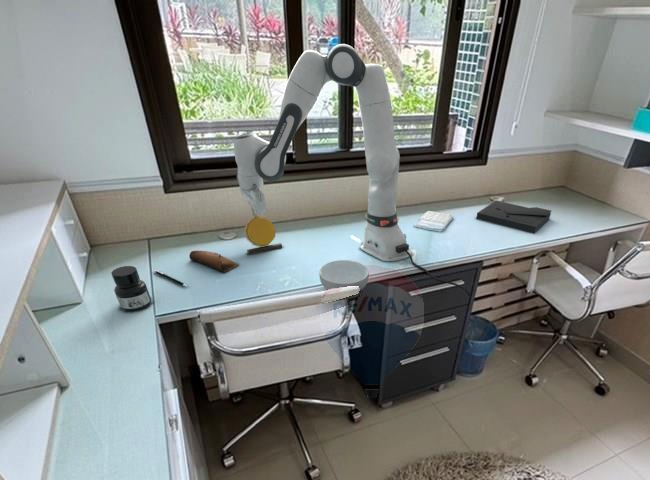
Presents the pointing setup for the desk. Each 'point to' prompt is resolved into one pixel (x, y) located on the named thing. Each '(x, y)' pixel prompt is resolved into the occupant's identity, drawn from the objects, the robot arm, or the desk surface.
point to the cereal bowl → (344, 274)
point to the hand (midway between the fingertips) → (256, 217)
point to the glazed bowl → (260, 232)
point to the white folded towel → (434, 221)
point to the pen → (170, 278)
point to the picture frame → (514, 216)
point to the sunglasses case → (213, 260)
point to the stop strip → (264, 248)
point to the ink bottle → (130, 289)
